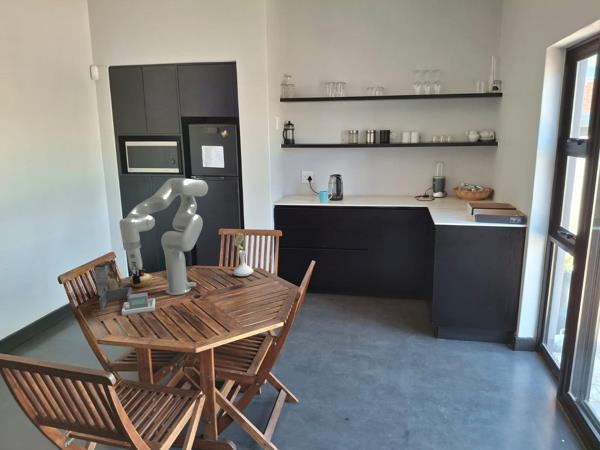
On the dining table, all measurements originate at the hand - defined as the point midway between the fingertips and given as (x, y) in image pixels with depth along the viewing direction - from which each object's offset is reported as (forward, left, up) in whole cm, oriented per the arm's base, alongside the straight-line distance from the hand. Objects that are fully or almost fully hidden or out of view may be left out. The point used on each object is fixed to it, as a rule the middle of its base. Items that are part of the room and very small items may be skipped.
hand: (137, 280), depth 208 cm
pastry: (+2, -36, -14) cm, 39 cm away
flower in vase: (-53, -30, -14) cm, 63 cm away
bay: (+12, -12, -14) cm, 21 cm away
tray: (+1, +1, -14) cm, 14 cm away
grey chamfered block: (+1, +1, -13) cm, 13 cm away
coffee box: (+18, -29, -14) cm, 37 cm away
